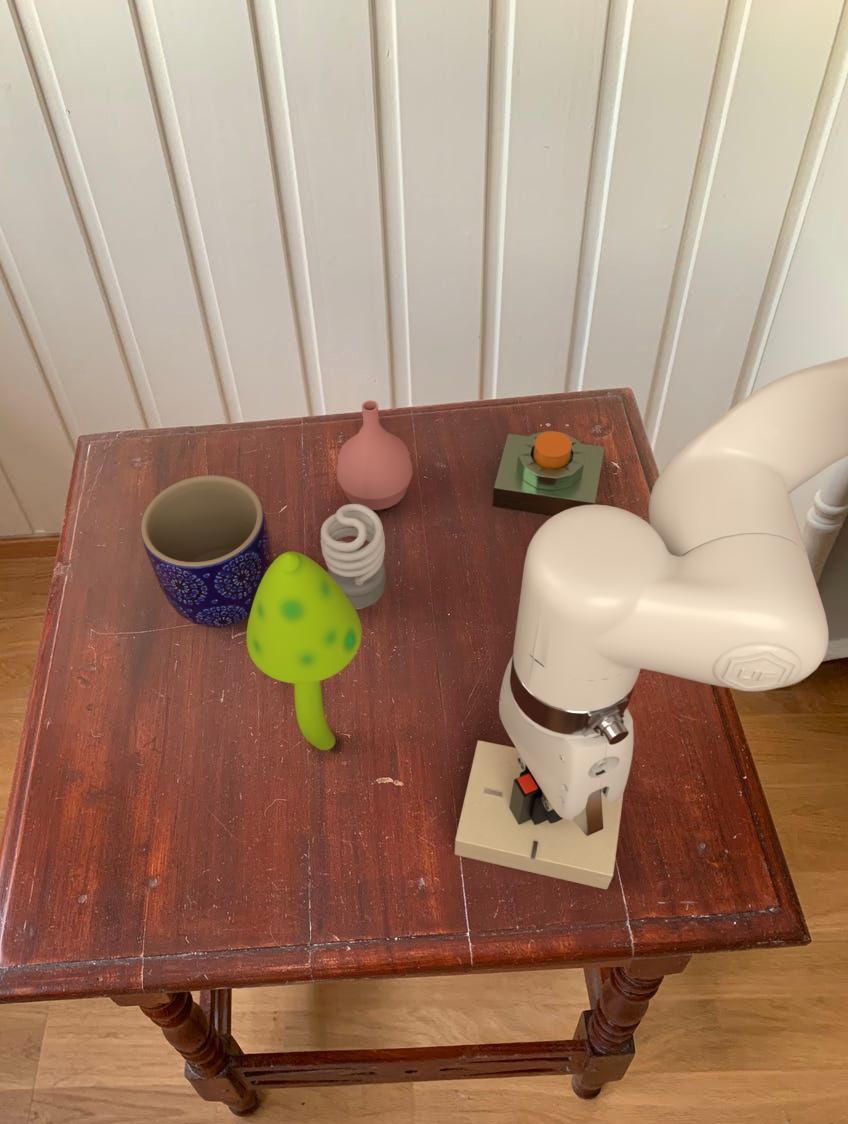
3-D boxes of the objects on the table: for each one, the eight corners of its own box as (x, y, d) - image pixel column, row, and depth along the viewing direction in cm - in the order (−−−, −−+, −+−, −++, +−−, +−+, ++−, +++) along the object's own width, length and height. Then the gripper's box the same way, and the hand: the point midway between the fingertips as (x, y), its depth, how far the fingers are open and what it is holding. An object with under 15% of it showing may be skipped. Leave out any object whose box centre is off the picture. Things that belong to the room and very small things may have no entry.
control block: (601, 465, 98) (607, 433, 94) (591, 521, 93) (597, 490, 90) (506, 452, 100) (509, 419, 96) (492, 506, 95) (494, 474, 92)
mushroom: (386, 713, 82) (371, 521, 61) (353, 797, 78) (325, 619, 57) (298, 688, 84) (255, 494, 63) (261, 768, 80) (202, 587, 59)
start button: (572, 446, 94) (574, 433, 92) (567, 472, 92) (569, 459, 90) (536, 441, 94) (538, 428, 93) (530, 466, 92) (532, 453, 91)
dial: (565, 783, 74) (573, 752, 70) (575, 800, 73) (584, 770, 69) (508, 807, 73) (513, 777, 69) (518, 825, 72) (524, 795, 68)
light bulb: (322, 591, 90) (308, 505, 80) (376, 573, 91) (369, 486, 81) (341, 635, 87) (330, 552, 77) (397, 616, 88) (393, 531, 78)
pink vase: (416, 470, 99) (414, 379, 89) (410, 524, 94) (407, 435, 85) (343, 468, 100) (334, 377, 90) (334, 521, 95) (323, 433, 85)
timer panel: (620, 785, 77) (626, 768, 74) (607, 891, 72) (613, 876, 69) (476, 755, 79) (478, 737, 76) (454, 856, 74) (454, 840, 72)
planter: (247, 536, 95) (228, 456, 85) (301, 607, 89) (286, 529, 80) (150, 585, 92) (119, 507, 83) (200, 661, 86) (172, 587, 77)
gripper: (698, 754, 54) (640, 870, 69) (560, 566, 63) (535, 706, 78) (585, 804, 53) (551, 912, 68) (460, 605, 61) (454, 741, 76)
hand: (543, 802), depth 73 cm, fingers closed, pressing on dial
